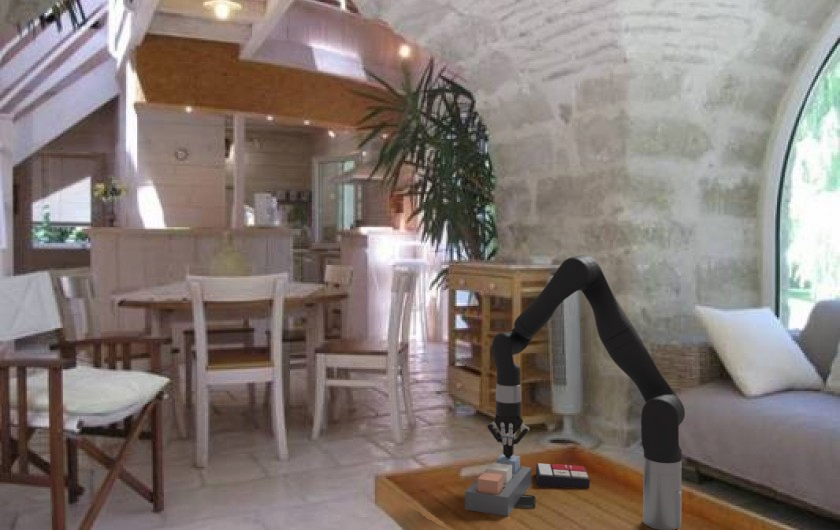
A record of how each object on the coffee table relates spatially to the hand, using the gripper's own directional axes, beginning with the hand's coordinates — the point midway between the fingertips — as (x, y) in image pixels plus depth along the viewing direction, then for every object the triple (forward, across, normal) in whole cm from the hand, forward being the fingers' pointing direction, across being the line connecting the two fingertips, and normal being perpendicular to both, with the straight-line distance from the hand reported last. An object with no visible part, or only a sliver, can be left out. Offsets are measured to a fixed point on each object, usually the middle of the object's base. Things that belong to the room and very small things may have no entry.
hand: (508, 456), depth 210 cm
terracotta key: (+4, 0, +18) cm, 18 cm away
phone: (+9, -3, +12) cm, 16 cm away
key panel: (+9, 0, +9) cm, 13 cm away
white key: (+4, 0, +9) cm, 10 cm away
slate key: (+4, 0, 0) cm, 4 cm away
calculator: (+9, -14, -10) cm, 20 cm away
